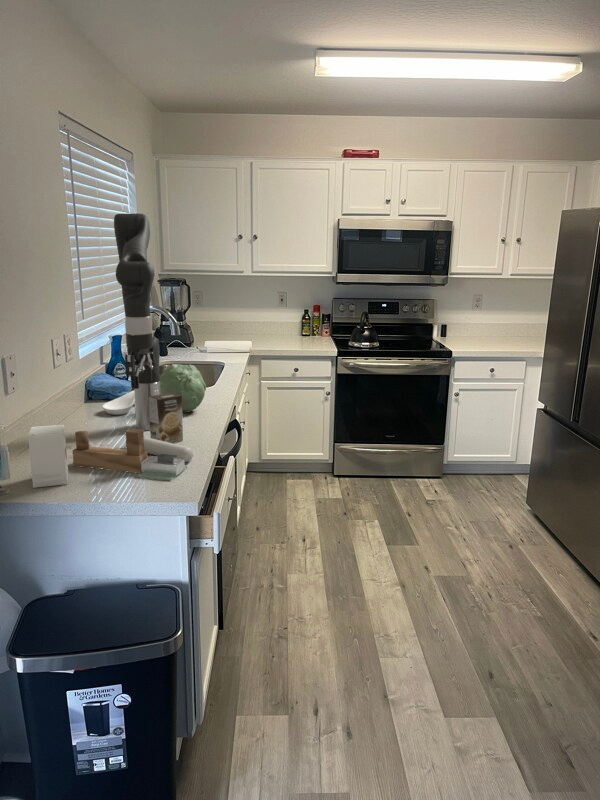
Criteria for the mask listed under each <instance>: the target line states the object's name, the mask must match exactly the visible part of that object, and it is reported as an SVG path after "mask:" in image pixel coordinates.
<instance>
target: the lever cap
mask: <svg viewBox="0 0 600 800" xmlns="http://www.w3.org/2000/svg"><path fill="white" fill-rule="evenodd" d="M185 464H186V462H184V459H177V455H169V454H160V455H159V456H157V455H149V456H148V458H146V459H145V460H143V461H142V462H141V472H142V473H143V472H148V473H157V474H167V475H176V477H178V476H179V475H180V474H181V473H182V472H184V471H185V470H186V469H185V466H186V465H185ZM184 469H185V470H184ZM183 470H184V471H183ZM180 472H181V473H180ZM179 473H180V474H179ZM178 474H179V475H178Z"/></svg>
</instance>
